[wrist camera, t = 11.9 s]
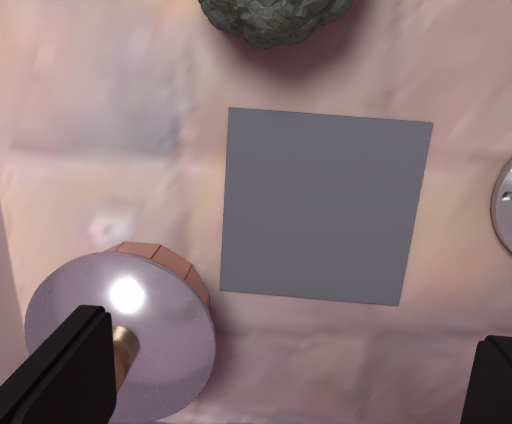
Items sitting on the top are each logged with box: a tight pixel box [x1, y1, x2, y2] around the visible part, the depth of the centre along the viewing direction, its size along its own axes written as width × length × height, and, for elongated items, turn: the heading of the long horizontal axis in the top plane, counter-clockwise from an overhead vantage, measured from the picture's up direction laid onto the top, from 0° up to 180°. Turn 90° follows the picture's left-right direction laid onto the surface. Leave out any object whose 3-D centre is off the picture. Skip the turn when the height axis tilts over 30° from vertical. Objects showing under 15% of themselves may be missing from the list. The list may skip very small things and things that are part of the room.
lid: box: [24, 252, 216, 423], centre depth 33 cm, size 16×16×5 cm
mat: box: [220, 107, 433, 306], centre depth 38 cm, size 17×17×1 cm
